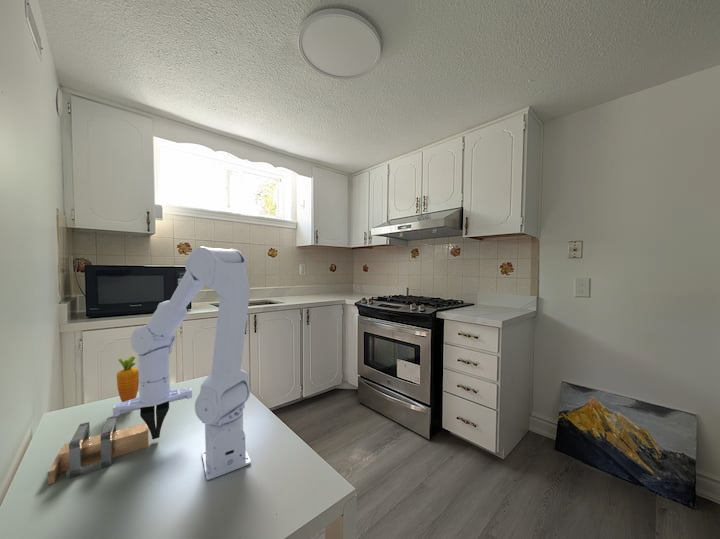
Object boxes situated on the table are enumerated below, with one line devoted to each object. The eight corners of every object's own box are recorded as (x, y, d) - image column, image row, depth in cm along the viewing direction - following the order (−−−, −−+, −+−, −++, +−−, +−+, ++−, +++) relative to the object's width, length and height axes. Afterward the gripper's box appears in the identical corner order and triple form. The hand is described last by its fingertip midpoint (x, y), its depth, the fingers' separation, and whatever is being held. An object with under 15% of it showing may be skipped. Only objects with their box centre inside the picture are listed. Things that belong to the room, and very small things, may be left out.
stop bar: (54, 482, 53) (53, 470, 53) (48, 484, 53) (47, 472, 53) (67, 457, 60) (66, 446, 60) (61, 459, 60) (61, 448, 60)
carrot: (112, 411, 79) (111, 358, 78) (131, 403, 84) (130, 352, 83) (125, 414, 77) (124, 359, 77) (144, 405, 82) (142, 354, 82)
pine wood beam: (148, 448, 64) (147, 430, 64) (59, 474, 56) (58, 454, 56) (149, 439, 67) (148, 422, 67) (65, 462, 59) (65, 443, 59)
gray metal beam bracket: (111, 465, 58) (110, 433, 58) (66, 479, 54) (65, 445, 54) (117, 443, 65) (116, 415, 65) (77, 454, 61) (76, 425, 61)
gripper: (190, 366, 72) (191, 418, 73) (115, 379, 64) (117, 438, 64) (192, 374, 67) (193, 432, 67) (110, 391, 58) (112, 456, 59)
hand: (155, 436), depth 65 cm, fingers closed
